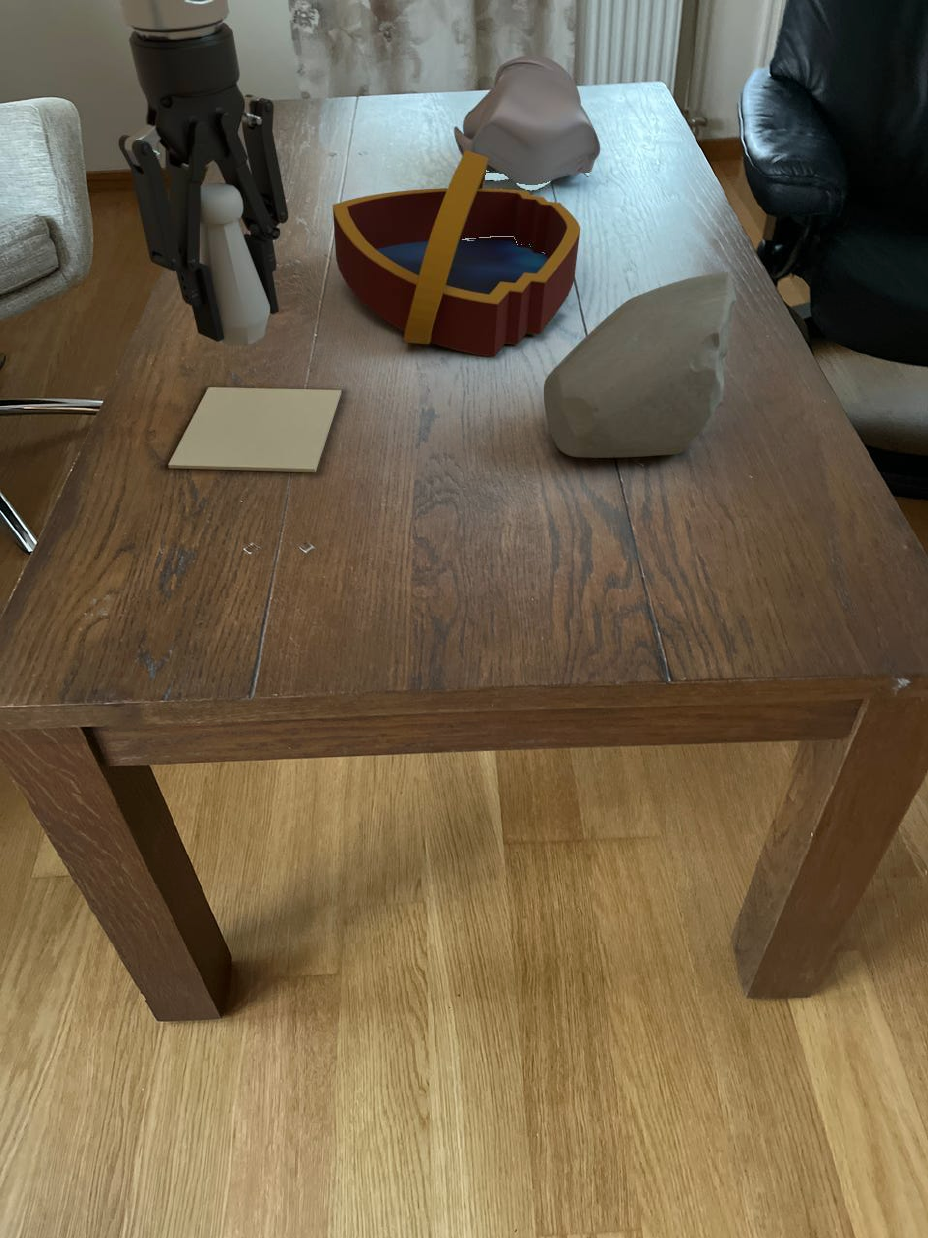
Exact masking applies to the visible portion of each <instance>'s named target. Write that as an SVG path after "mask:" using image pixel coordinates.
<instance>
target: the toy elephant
mask: <svg viewBox="0 0 928 1238" xmlns="http://www.w3.org/2000/svg"><path fill="white" fill-rule="evenodd" d="M581 101H582V100H581V96H580V92H579V89H578V86H577V84H576V82H575V81H574V79H573V77H572V76H571V74H570V73H569V72H568V71H567V70H566V69H565V68H564V67H563V66H562V65H560V64H559V63H558V62H556V61H555V60H553V59H551V58H549V57H546V56H543V55H536V54H535V55H534V54H532V55H531V54H530V55H529V54H528V55H523V56H522V55H521V56H517V57H515V58H512V59H510V60H508V61H506V62H504V63H503V64H501V65H500V66H499V67H498V69H497V71H496V73H495V76H494V82H493V86H492V87H491V89H490V90H489V91H488V92H487V93H486V94H485V95H484V96H483V98H482V99H481V100H480V101H479V102H478V103H477V104H476V105H475V106H474V107H473V108H472V109H471V110H469V111H468V112H467V113H466V115H465V116H464V118H463V122H462V130H460V128H459V127H458V126H454V127H453V135H454V139H455V143H456V146H457V149H458V150H459V153H460V155H461V157H462V156H463V154H464V152H465V150H467V151H470V152H473V153H476V154H479V155H482V156H485V157H487V158H488V163H487V169H486V170H487V171H489V172H486V173H499V174H504V175H505V176H507V177H508V178H510V179H509V180H512V181H513V182H514V183H515V182H516V183H519V184H525V185H538V184H543V183H547V182H549V181H551V180H553V179H554V180H557V179H559V177H560V178H564V177H568V176H567V175H569V176H574V175H573V174H578V175H579V174H584V173H590V172H591V173H592V171H593V168H594V165H595V162H596V160H597V159H598V157H599V156H600V154H601V143H600V139H599V137H598V134H597V131H596V130H595V127H594V125H593V123H592V121H591V120H590V118H589V116H588V113H587V112H586V110H585V109H584V108H583V106H582V102H581ZM591 173H590V174H591ZM563 176H564V177H563ZM556 178H557V179H556ZM554 180H553V181H554ZM516 183H515V184H516ZM522 190H523V191H526V190H525V189H522ZM528 192H530V191H529V190H528Z"/></svg>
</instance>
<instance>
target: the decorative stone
mask: <svg viewBox="0 0 928 1238" xmlns="http://www.w3.org/2000/svg"><path fill="white" fill-rule="evenodd" d="M736 303H737V297H736V290H735V288H734V276H733V275H732V274H731V273H730V272H728V271H727V272H726V271H725V272H719V273H711V274H705V275H698V276H692V277H689V278H685V279H682V280H678V281H675V282H672V283H669V284H665V285H663V286H662V285H661V286H659V287H656V288H654V289H651V290H649V291H646V292H643V293H641V294H638V295H636V296H633V297H632V298H630V299H628V300H626V301H625V302H623V303H622V304H621V305H620V306H618V307H617V308H616V309H615V310H614V311H612V312H611V313H610V314H609V315H608V316H607V317H605V319H603V320H602V321H601V322H600V323H599V324H598V325H597V326H596V327H594V329H592V331H590V332H589V333H588V334H587V335H586V336H585V337H584V338H583V339H582V340H580V342H579V343H578V344H577V345H576V346H575V347H574V348H573V349H572V350H571V351H570V352H569V353H568V354H566V356H565V357H564V358H563V359H562V360H561V361H560V362H559V363H558V364H557V365H556V366H555V367H554V369H552V370H551V372H550V373H549V374H548V375H547V377H546V378H545V380H544V384H543V404H544V405H543V406H544V413H545V418H546V422H547V427H548V430H549V433H550V436H551V438H552V440H553V442H554V443H555V444H554V445H556V448H558V450H559V451H561V452H562V453H563V454H565V455H566V456H570V457H573V458H594V459H595V458H598V459H599V458H601V459H602V458H603V459H605V458H606V459H608V458H609V459H610V458H635V457H654V456H655V457H656V456H669V455H671V456H672V455H679V454H681V453H683V451H685V450H686V449H687V448H688V447H689V446H690V445H691V444H692V443H693V442H694V441H695V440H696V439H697V438H698V437H699V436H700V435H701V433H702V431H703V430H704V428H705V427H706V426H707V424H708V422H709V420H710V419H711V418H712V416H713V415H714V412H715V411H717V409H718V408H720V407H721V406H723V405H724V401H723V391H724V387H725V377H724V371H723V367H724V358H725V357H726V356H727V355H728V340H729V339H728V338H729V332H730V326H731V322H732V319H733V316H734V312H735V305H736Z"/></svg>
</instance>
